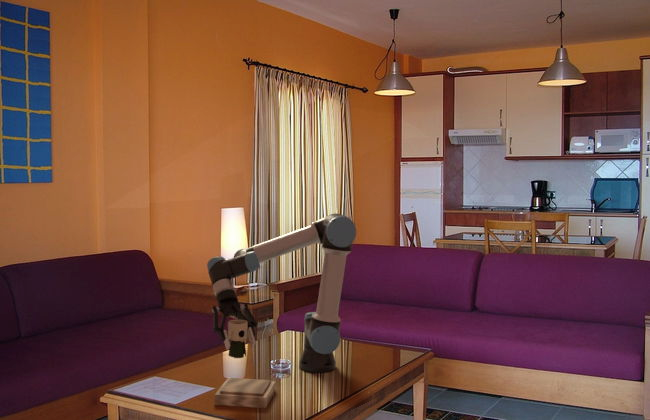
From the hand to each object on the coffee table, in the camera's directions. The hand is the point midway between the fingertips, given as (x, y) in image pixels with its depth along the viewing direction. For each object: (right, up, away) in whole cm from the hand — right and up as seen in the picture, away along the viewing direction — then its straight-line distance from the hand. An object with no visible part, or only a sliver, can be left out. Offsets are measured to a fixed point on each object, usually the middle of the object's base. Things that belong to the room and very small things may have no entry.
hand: (241, 346), depth 239 cm
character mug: (-2, -5, +3) cm, 6 cm away
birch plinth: (+1, -19, +2) cm, 19 cm away
